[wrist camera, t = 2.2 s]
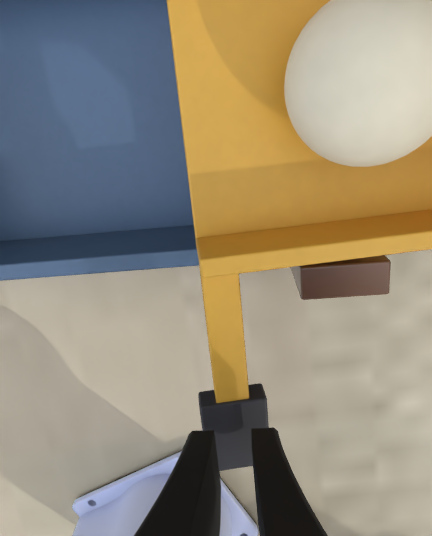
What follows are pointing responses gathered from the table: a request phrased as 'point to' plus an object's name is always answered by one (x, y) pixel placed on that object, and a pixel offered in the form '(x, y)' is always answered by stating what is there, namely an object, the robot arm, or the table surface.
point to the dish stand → (343, 278)
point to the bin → (90, 140)
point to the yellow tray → (269, 187)
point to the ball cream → (363, 80)
